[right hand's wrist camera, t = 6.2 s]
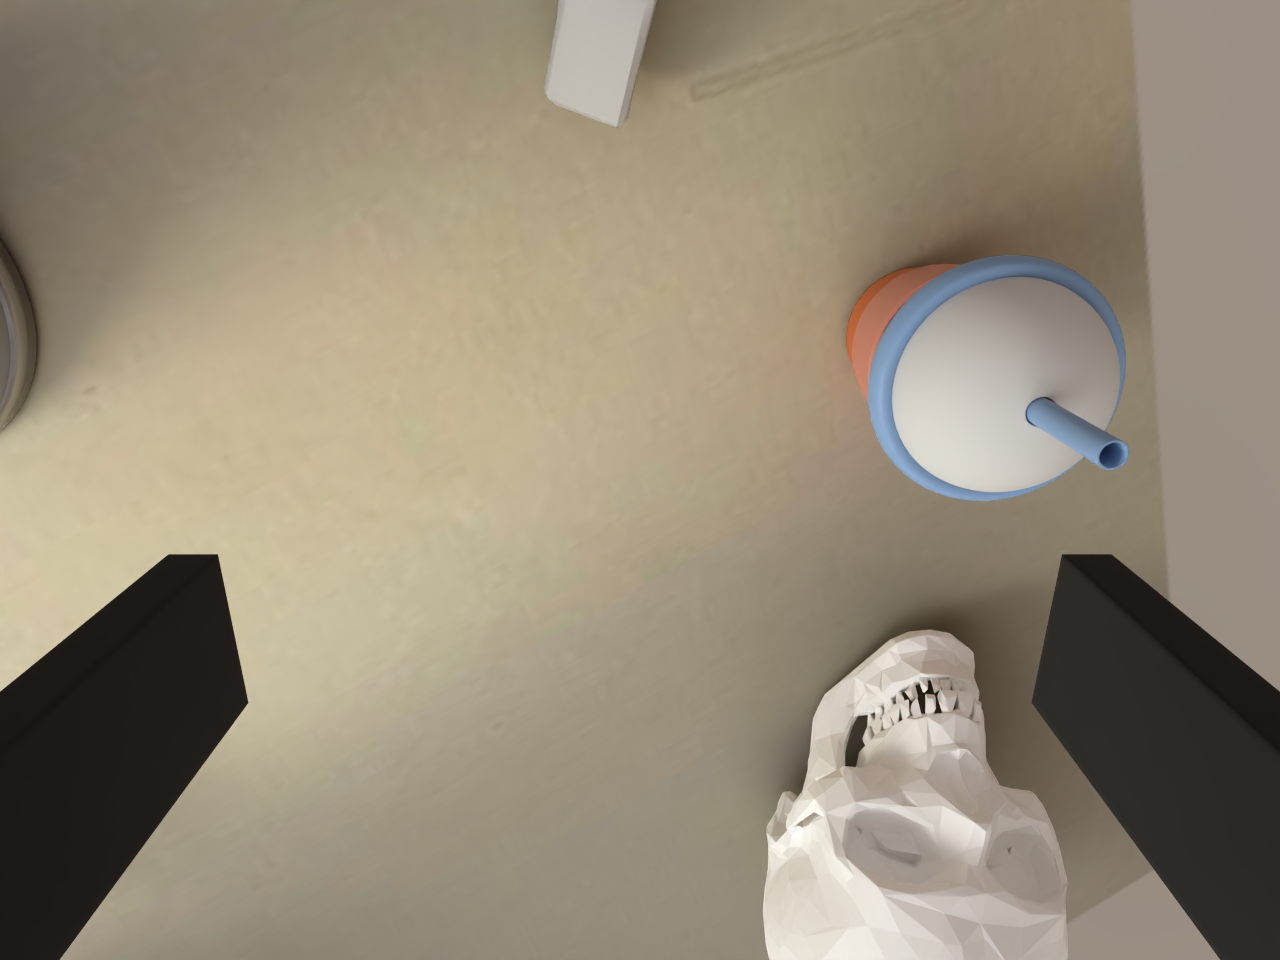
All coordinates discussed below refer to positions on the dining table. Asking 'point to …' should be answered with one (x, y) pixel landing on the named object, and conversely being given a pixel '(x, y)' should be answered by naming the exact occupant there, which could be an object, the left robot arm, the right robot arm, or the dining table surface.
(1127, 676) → the right robot arm
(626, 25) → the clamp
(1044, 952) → the skull
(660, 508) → the dining table surface
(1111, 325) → the cup with straw
